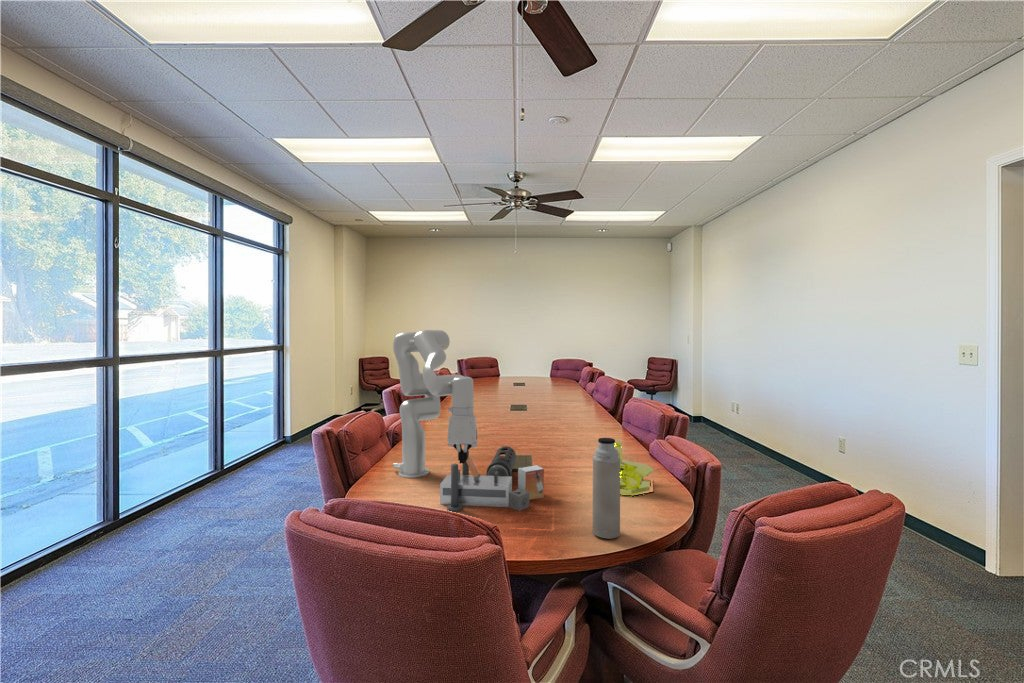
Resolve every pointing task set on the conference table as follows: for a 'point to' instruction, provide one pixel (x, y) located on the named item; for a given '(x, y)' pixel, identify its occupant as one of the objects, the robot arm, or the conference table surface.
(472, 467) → the paddle
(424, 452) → the robot arm
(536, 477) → the small box
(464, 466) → the post far
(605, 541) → the conference table surface
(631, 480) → the yellow-green lump
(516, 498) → the dice cube
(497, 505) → the breaker panel
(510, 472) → the muzzle brake
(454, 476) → the post near
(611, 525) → the thermos bottle
